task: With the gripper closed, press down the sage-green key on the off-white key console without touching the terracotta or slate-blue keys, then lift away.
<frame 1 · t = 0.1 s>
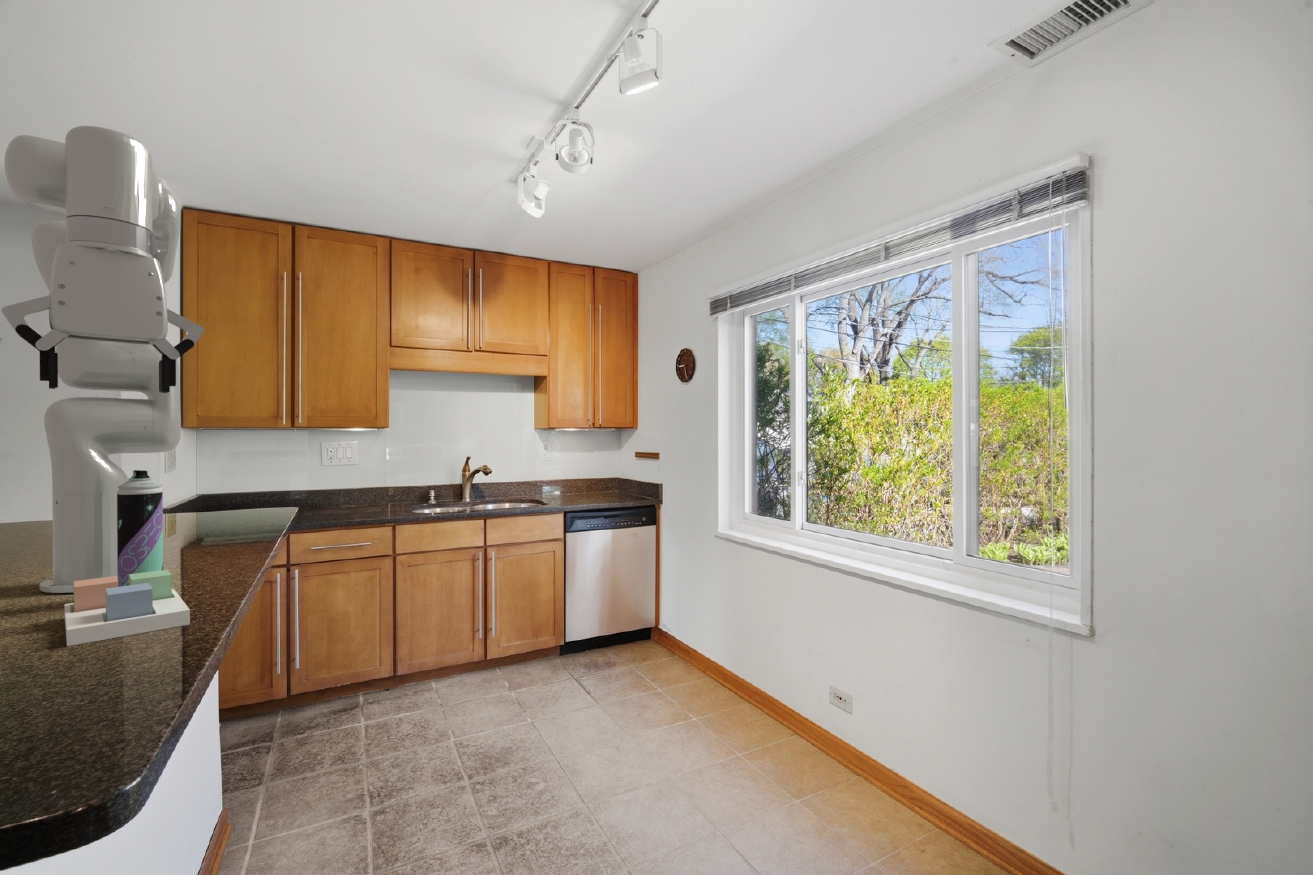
hand: (111, 390, 71), 31 cm above the worktop, fingers open, 9 cm apart
terracotta key: (96, 593, 84), point 4 cm above the worktop, slide at 0.0 cm
key console: (126, 621, 83), on the worktop
slate key: (129, 601, 81), point 4 cm above the worktop, slide at 0.0 cm
spray can: (140, 597, 96), on the worktop
sage key: (150, 586, 88), point 4 cm above the worktop, slide at 0.0 cm
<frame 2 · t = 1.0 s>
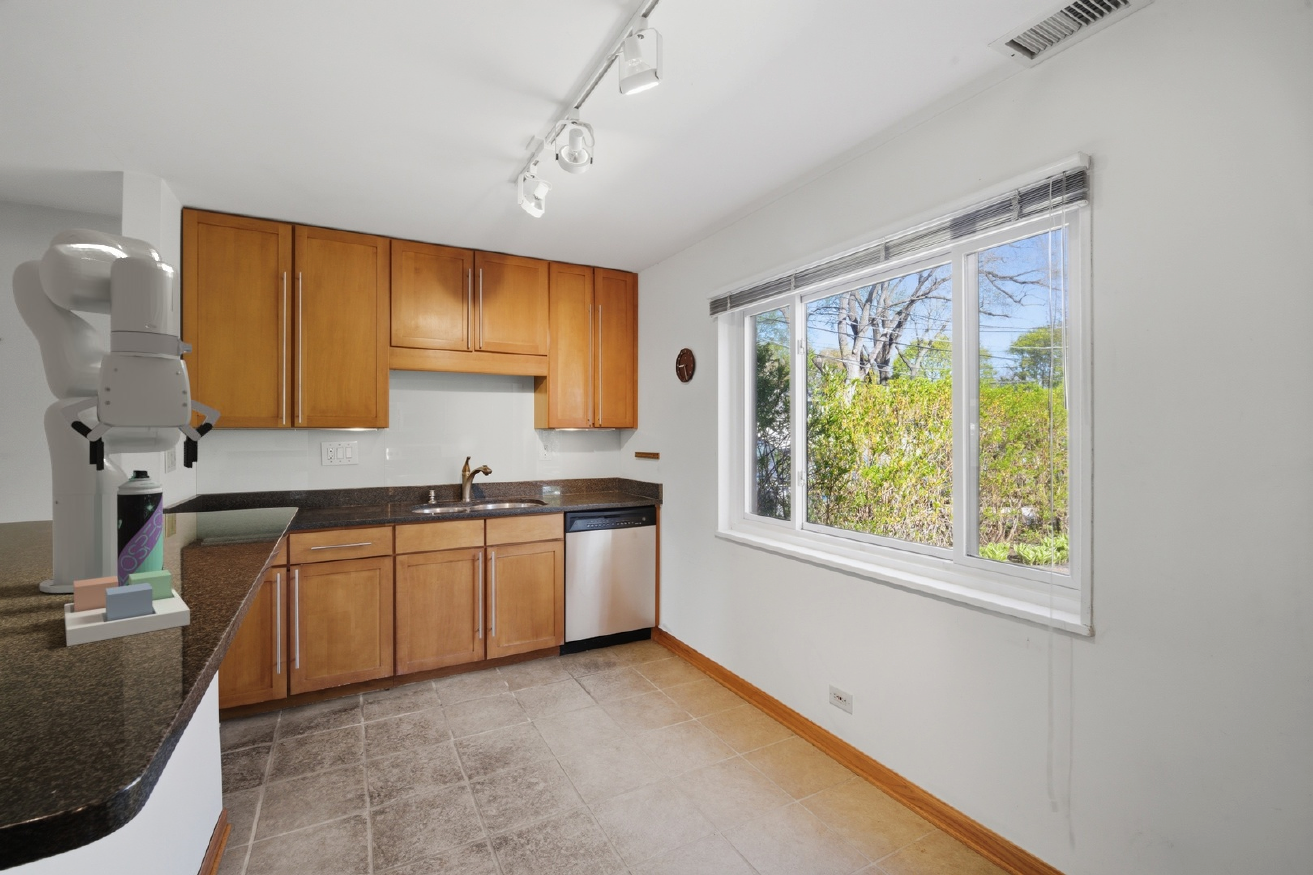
hand: (145, 468, 86), 21 cm above the worktop, fingers open, 9 cm apart
nothing on the worktop moved.
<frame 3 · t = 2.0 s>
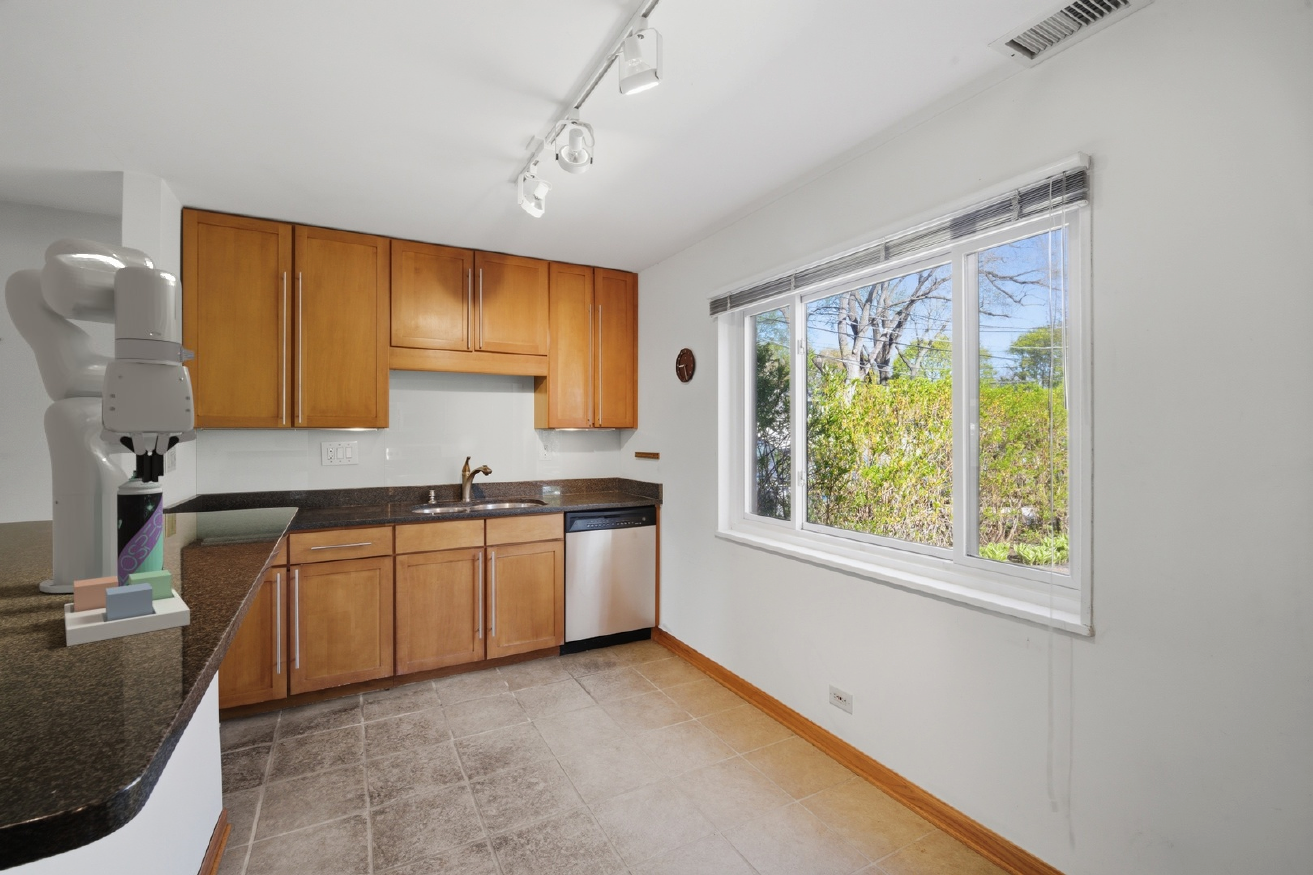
hand: (150, 481, 88), 19 cm above the worktop, fingers closed
nothing on the worktop moved.
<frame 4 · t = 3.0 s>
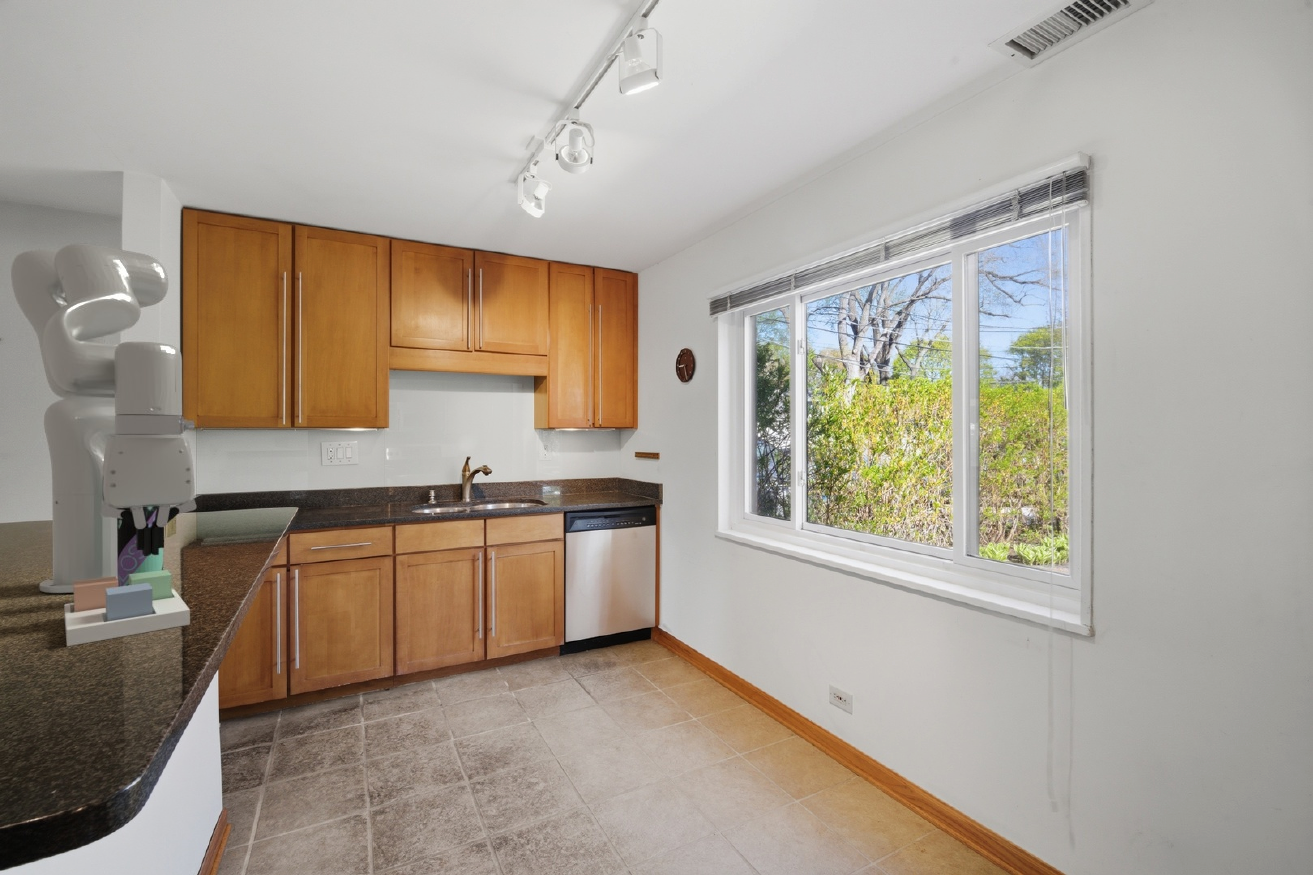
hand: (150, 554, 88), 8 cm above the worktop, fingers closed
nothing on the worktop moved.
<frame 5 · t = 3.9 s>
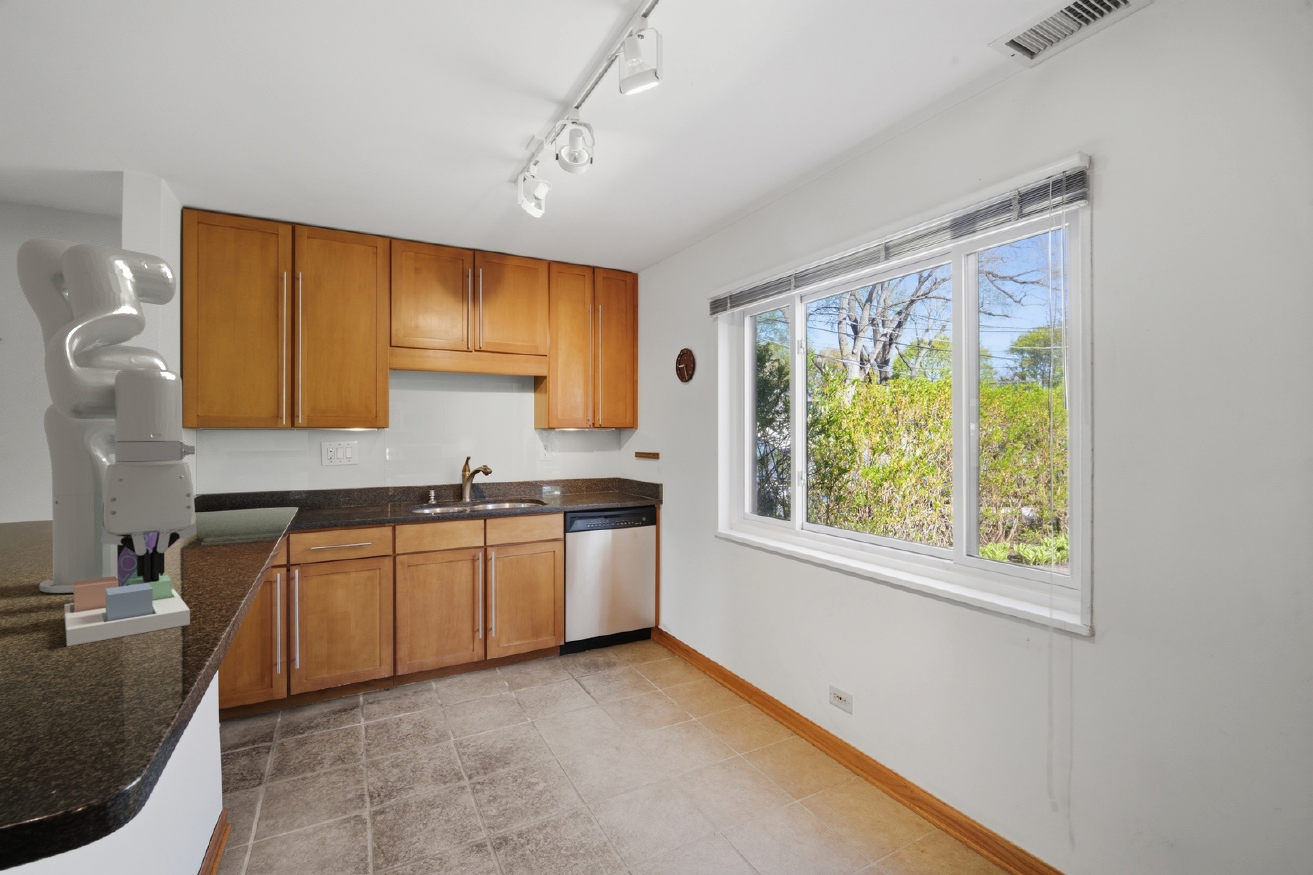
hand: (150, 579, 88), 5 cm above the worktop, fingers closed
sage key: (150, 591, 88), point 3 cm above the worktop, slide at 0.8 cm
everything else where it was.
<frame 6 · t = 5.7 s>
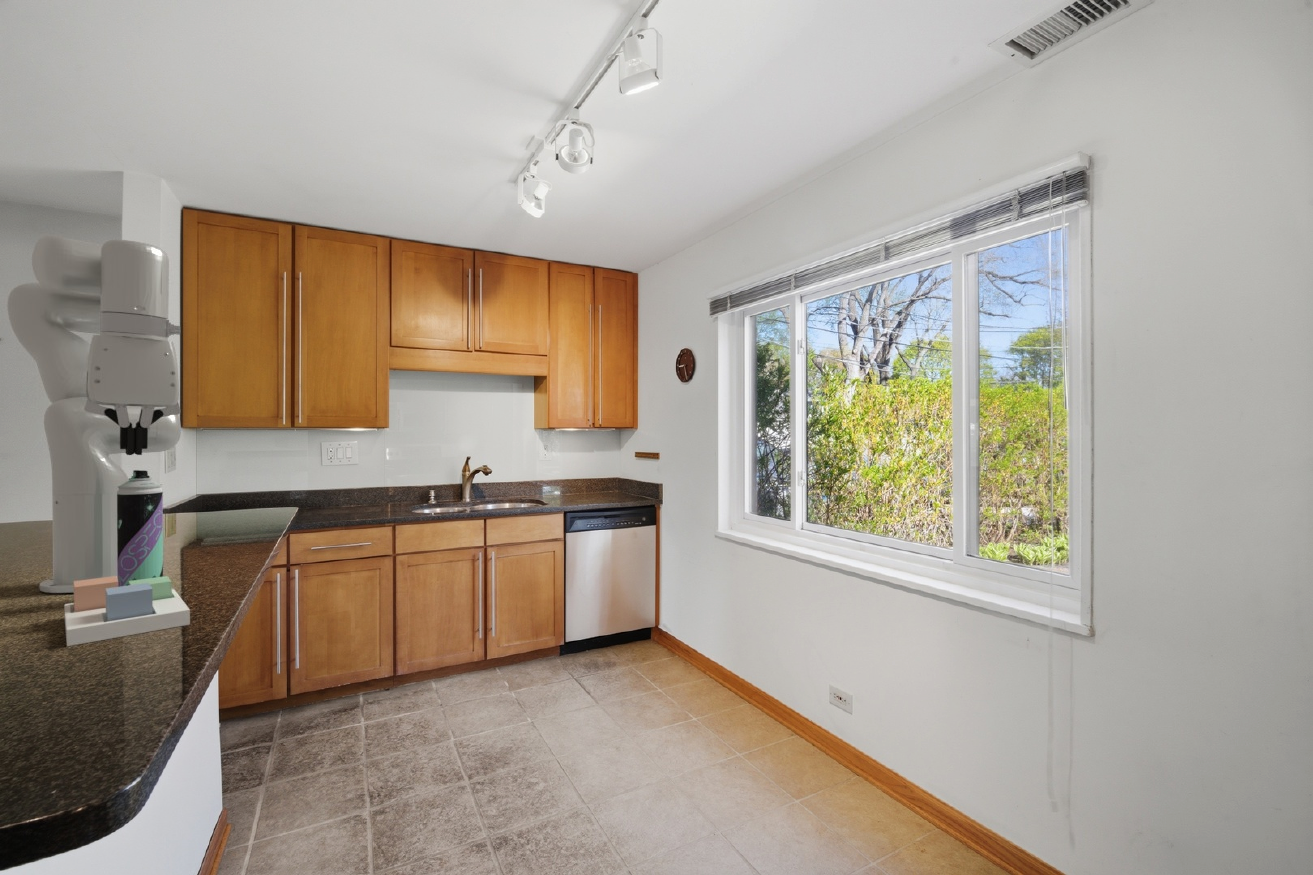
hand: (133, 453, 89), 23 cm above the worktop, fingers closed
nothing on the worktop moved.
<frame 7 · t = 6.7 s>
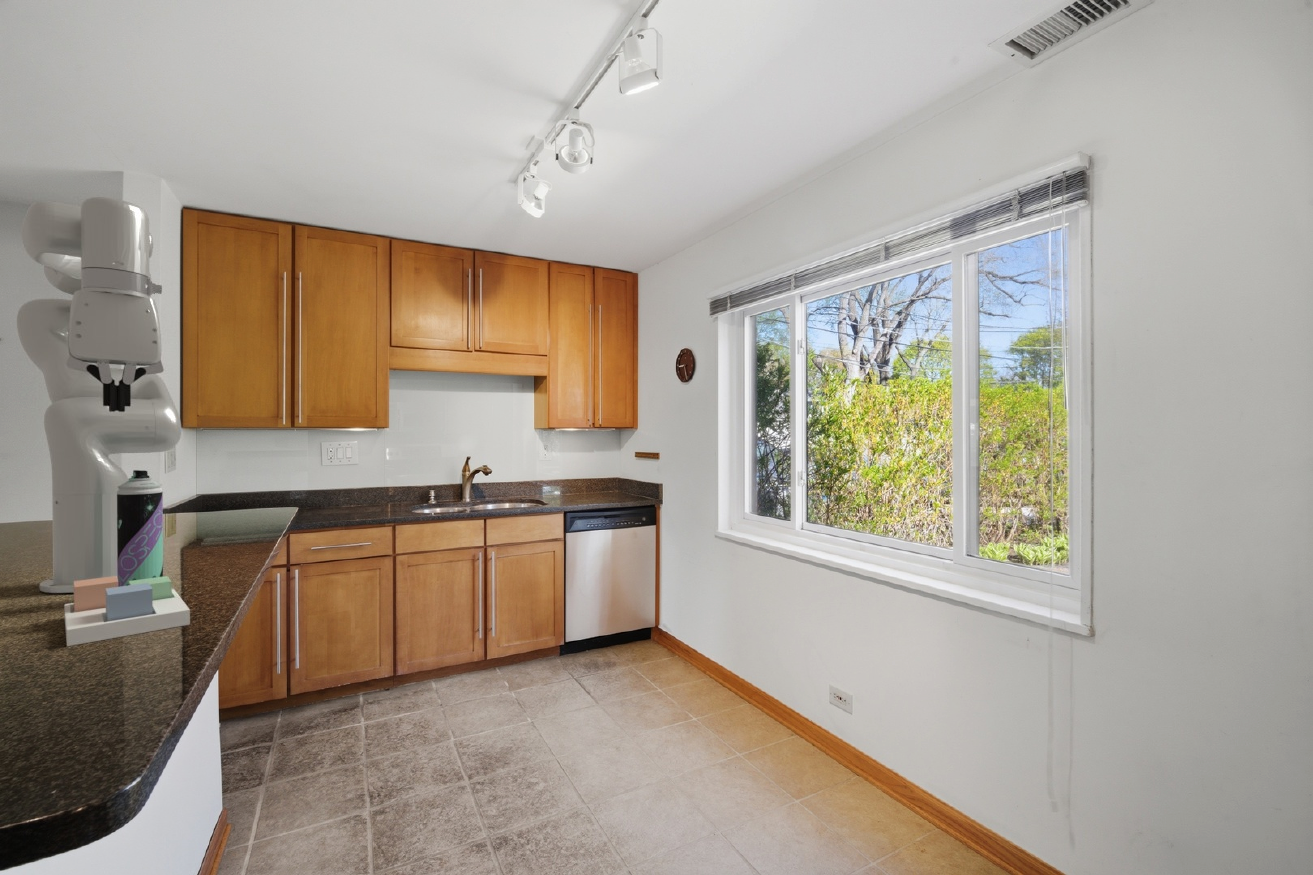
hand: (116, 411, 90), 29 cm above the worktop, fingers closed
nothing on the worktop moved.
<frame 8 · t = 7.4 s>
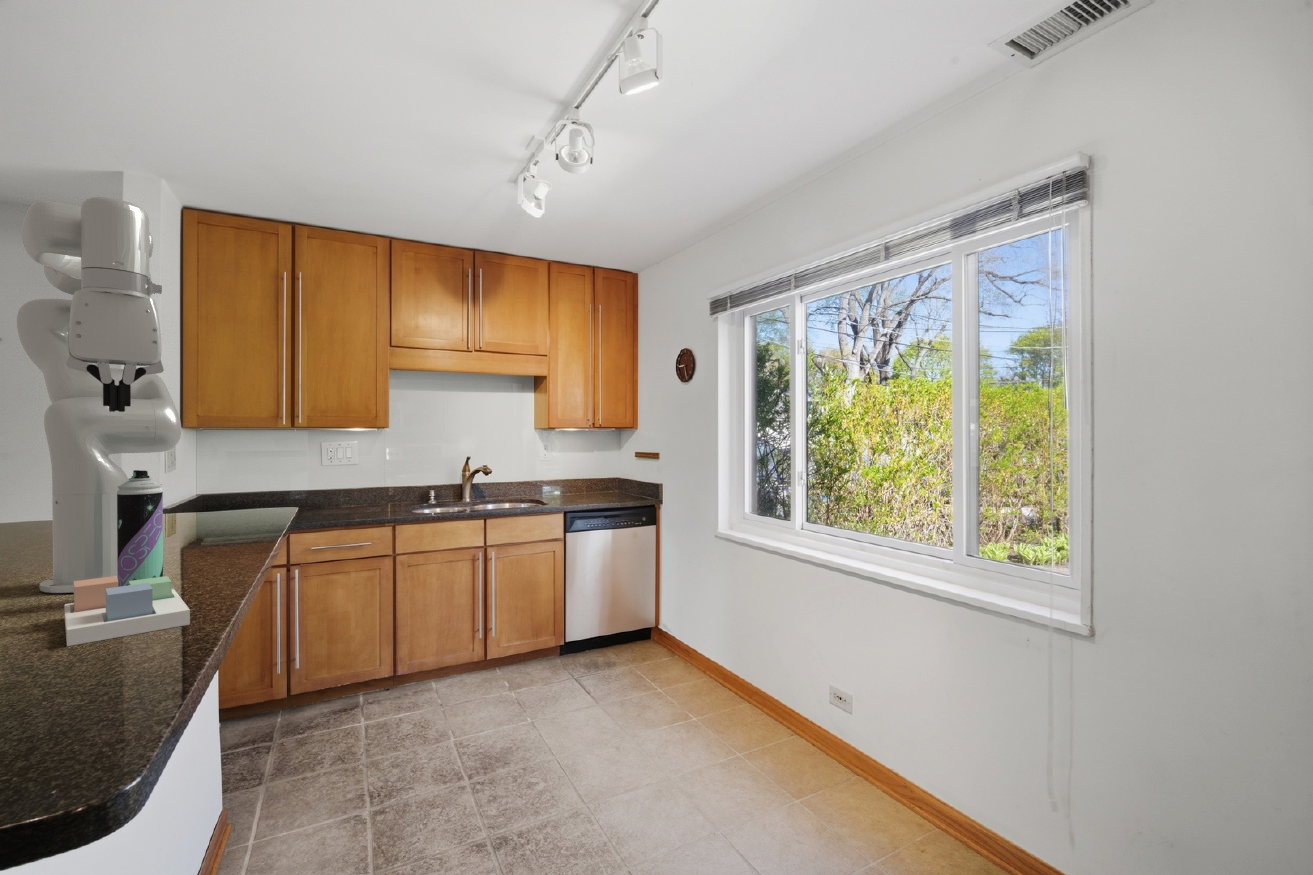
hand: (116, 411, 90), 29 cm above the worktop, fingers closed
nothing on the worktop moved.
at the end: sage key slide at 1.0 cm; terracotta key slide at 0.0 cm; slate key slide at 0.0 cm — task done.
